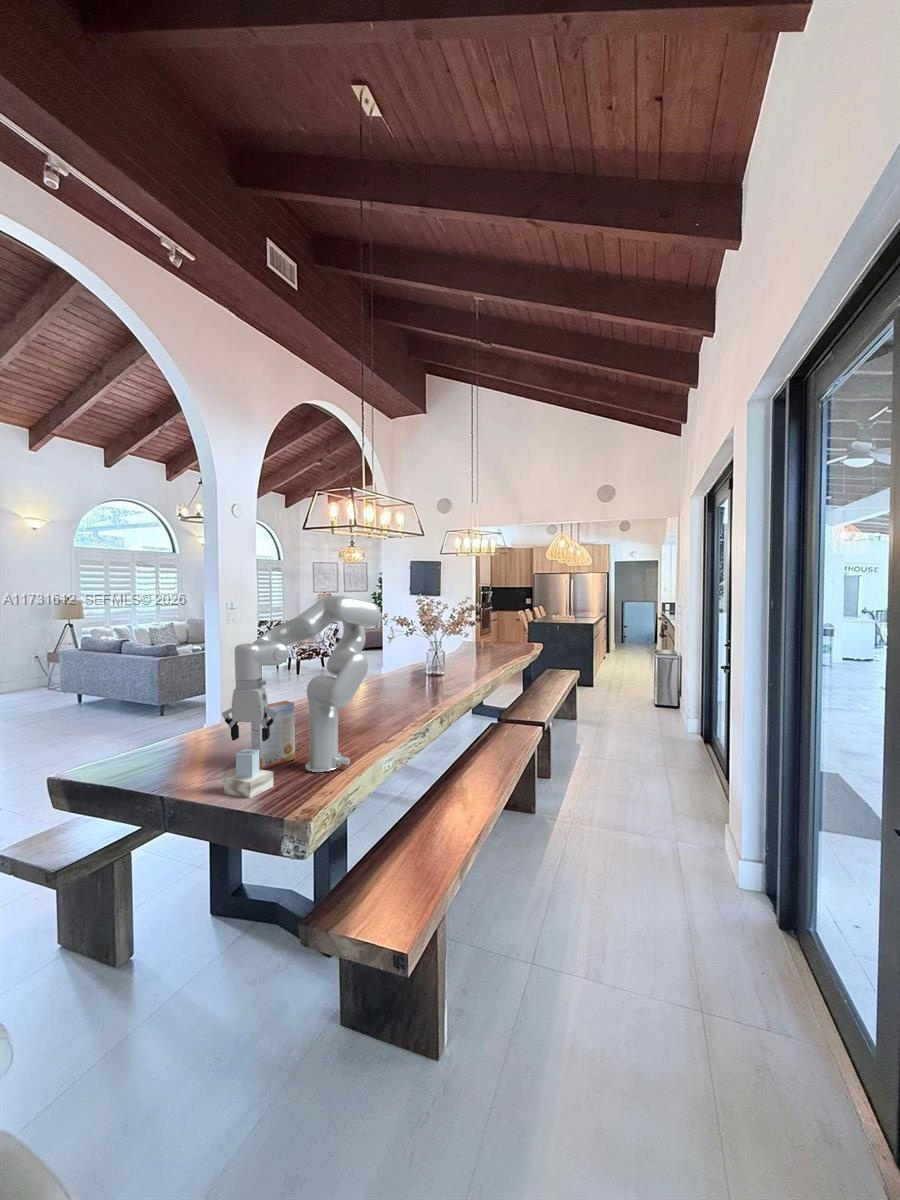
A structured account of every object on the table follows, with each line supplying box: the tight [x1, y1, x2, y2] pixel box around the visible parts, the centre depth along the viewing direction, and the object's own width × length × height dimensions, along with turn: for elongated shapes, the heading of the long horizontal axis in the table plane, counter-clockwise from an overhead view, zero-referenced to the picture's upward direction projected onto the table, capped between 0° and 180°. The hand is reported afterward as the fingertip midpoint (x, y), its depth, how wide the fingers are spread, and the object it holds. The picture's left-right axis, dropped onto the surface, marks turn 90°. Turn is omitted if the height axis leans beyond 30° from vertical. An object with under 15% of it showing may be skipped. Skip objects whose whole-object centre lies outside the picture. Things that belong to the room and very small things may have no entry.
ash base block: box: [223, 769, 274, 799], centre depth 164 cm, size 10×10×5 cm
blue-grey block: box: [235, 749, 259, 778], centre depth 163 cm, size 5×5×7 cm
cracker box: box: [250, 700, 296, 770], centre depth 188 cm, size 14×6×21 cm, turn 141°
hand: (250, 739), depth 164 cm, fingers open, 9 cm apart
